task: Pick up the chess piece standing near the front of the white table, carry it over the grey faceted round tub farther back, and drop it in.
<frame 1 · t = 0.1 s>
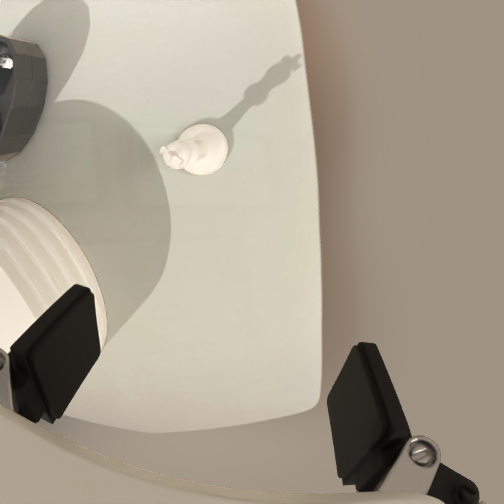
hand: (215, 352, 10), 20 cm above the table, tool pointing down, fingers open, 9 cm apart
plate stack: (31, 290, 35), on the table
grey faceted round tub: (8, 99, 24), on the table
chess piece: (202, 149, 27), on the table
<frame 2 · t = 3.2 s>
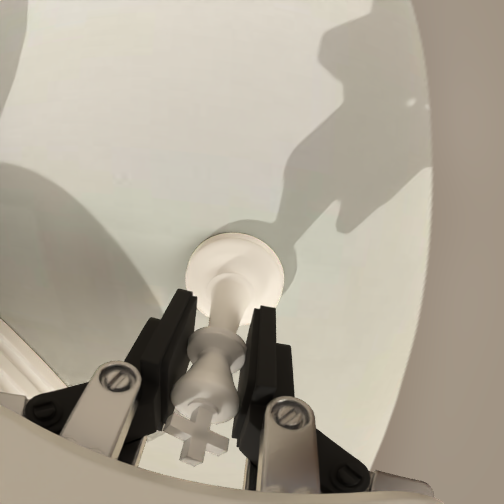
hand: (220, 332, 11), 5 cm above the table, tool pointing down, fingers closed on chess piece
plate stack: (10, 392, 23), on the table
chess piece: (235, 277, 15), on the table, touching gripper
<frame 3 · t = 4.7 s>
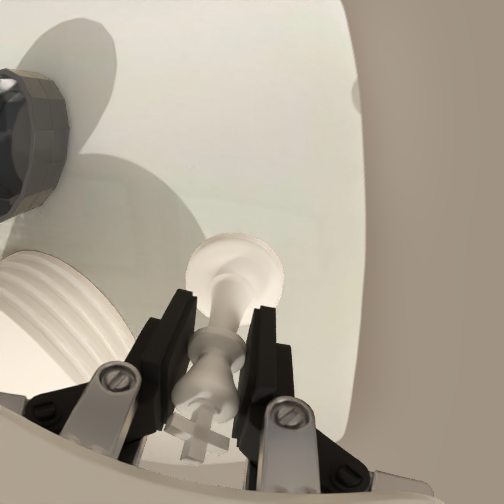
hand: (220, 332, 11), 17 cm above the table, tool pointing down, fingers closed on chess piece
plate stack: (58, 341, 35), on the table
grey faceted round tub: (22, 142, 25), on the table
chess piece: (235, 277, 15), point 12 cm above the table, touching gripper
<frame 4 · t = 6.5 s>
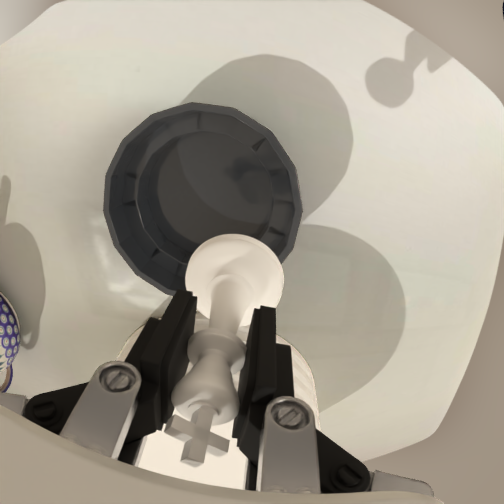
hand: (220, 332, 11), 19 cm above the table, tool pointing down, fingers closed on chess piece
plate stack: (213, 393, 39), on the table
grey faceted round tub: (209, 194, 28), on the table
chess piece: (235, 278, 15), point 14 cm above the table, touching gripper
teapot: (2, 311, 37), on the table
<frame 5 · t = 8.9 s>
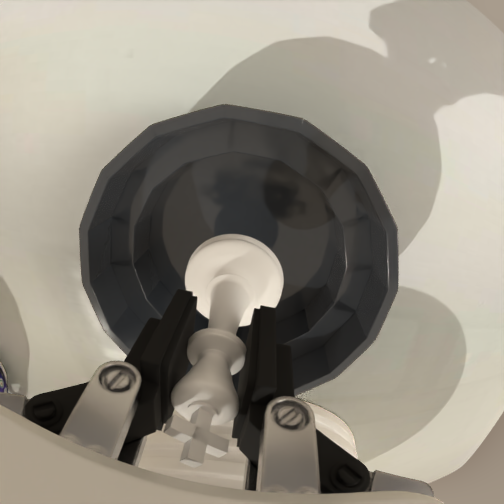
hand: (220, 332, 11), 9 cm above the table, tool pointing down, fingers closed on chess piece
plate stack: (237, 457, 30), on the table
grey faceted round tub: (241, 245, 19), on the table
chess piece: (234, 278, 15), point 5 cm above the table, touching gripper
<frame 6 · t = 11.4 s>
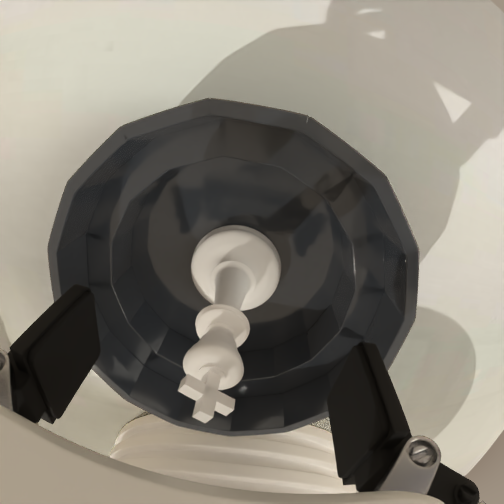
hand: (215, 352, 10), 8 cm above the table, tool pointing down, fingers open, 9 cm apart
plate stack: (234, 475, 27), on the table
grey faceted round tub: (234, 262, 17), on the table
chess piece: (236, 266, 17), resting on grey faceted round tub
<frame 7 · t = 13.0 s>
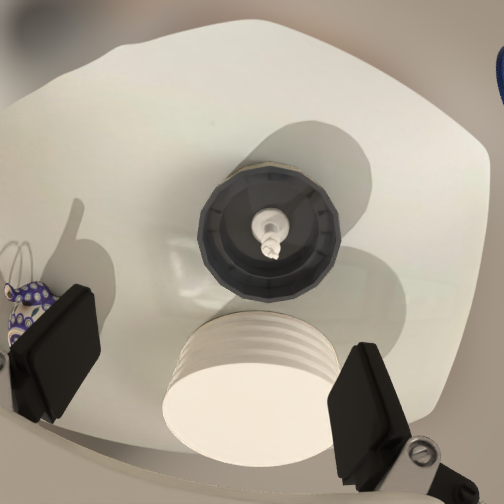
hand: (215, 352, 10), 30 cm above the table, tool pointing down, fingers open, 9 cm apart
plate stack: (258, 375, 49), on the table
grey faceted round tub: (269, 224, 39), on the table
chess piece: (270, 225, 39), resting on grey faceted round tub
teapot: (60, 315, 48), on the table
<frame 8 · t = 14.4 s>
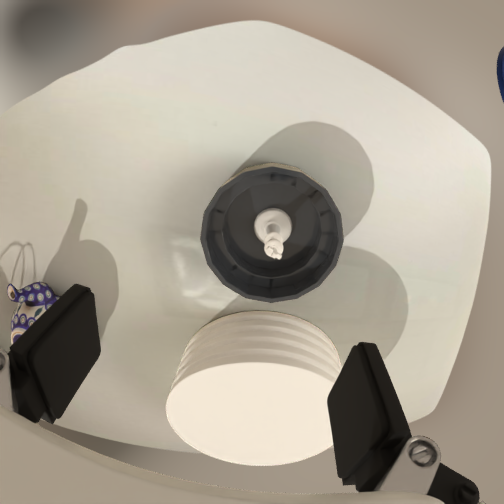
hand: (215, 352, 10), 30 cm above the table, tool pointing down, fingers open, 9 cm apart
plate stack: (260, 375, 50), on the table
grey faceted round tub: (271, 224, 39), on the table
chess piece: (273, 225, 39), resting on grey faceted round tub
teapot: (63, 316, 48), on the table
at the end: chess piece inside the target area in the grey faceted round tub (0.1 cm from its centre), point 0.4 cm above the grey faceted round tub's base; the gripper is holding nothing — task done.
